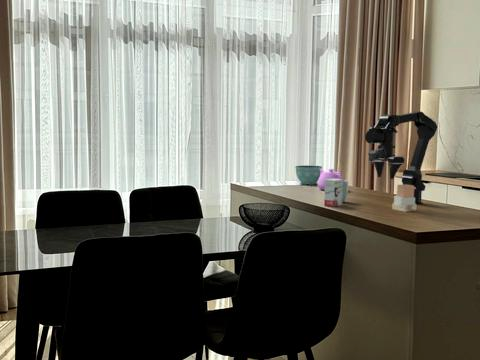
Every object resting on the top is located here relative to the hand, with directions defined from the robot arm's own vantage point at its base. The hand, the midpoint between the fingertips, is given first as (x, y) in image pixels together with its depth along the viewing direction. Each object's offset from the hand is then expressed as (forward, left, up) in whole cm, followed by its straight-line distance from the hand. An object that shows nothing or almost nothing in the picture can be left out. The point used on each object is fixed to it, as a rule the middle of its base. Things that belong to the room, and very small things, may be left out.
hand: (385, 178), depth 250 cm
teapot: (-5, -60, -13) cm, 62 cm away
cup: (+14, -16, -13) cm, 25 cm away
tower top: (-1, +13, -10) cm, 16 cm away
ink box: (+22, -7, -13) cm, 27 cm away
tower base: (-1, +13, -13) cm, 18 cm away
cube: (-2, +13, -7) cm, 15 cm away
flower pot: (-7, -90, -13) cm, 91 cm away
